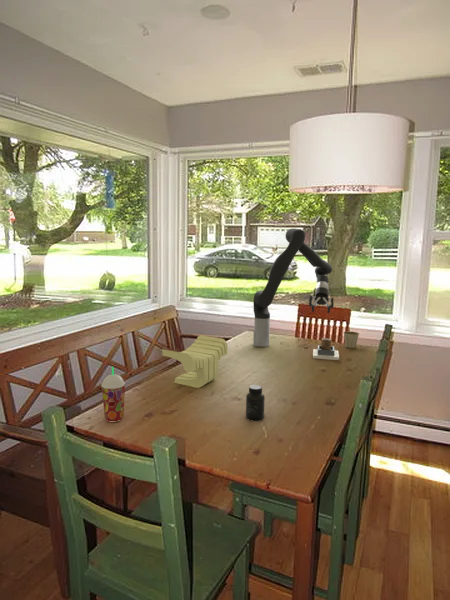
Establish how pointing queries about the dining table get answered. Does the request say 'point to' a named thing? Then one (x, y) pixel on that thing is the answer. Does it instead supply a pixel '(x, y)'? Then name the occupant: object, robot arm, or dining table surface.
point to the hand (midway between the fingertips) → (320, 312)
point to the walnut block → (326, 344)
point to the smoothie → (113, 397)
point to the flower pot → (351, 339)
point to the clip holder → (325, 353)
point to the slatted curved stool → (199, 360)
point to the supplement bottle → (255, 403)
